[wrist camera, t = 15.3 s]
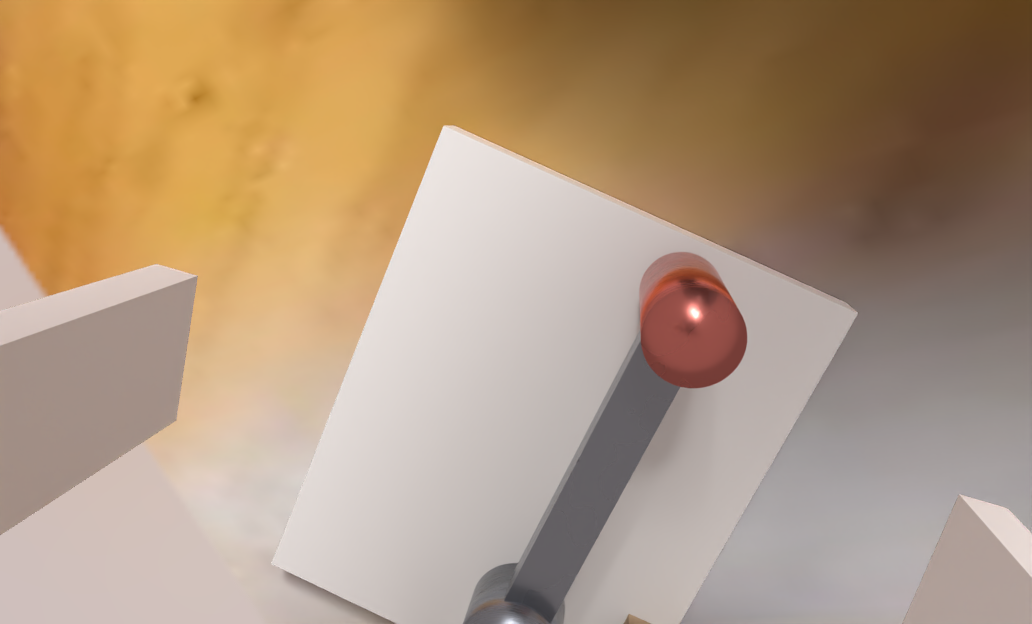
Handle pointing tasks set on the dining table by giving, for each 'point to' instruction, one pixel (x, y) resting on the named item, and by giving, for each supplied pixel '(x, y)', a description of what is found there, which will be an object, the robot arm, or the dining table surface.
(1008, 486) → the dining table surface
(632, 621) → the walnut block
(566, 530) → the lever
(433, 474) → the base
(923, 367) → the dining table surface
